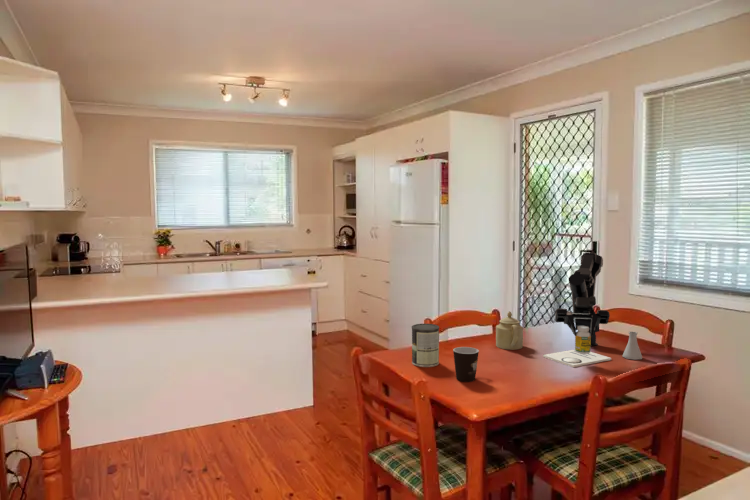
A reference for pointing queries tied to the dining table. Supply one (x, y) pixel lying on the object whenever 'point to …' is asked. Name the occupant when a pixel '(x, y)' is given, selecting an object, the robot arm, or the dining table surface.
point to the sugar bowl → (509, 333)
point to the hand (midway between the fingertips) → (583, 335)
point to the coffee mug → (465, 363)
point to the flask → (632, 348)
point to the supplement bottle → (583, 340)
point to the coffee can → (425, 345)
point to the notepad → (576, 358)
